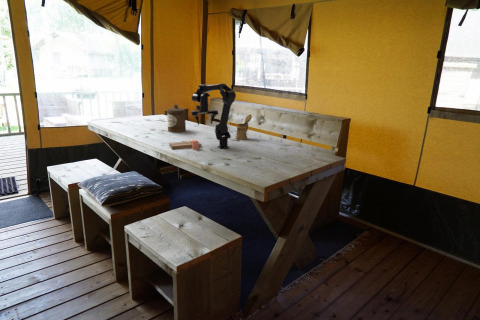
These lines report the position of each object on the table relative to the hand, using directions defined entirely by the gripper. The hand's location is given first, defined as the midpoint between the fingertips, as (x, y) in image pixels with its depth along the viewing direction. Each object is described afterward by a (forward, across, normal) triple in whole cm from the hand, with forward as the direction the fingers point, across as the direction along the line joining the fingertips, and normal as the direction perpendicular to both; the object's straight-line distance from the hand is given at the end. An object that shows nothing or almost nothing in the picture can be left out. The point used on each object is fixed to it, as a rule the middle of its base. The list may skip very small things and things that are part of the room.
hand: (204, 124), depth 239 cm
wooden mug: (+14, -32, -6) cm, 35 cm away
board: (+13, +16, +6) cm, 21 cm away
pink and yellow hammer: (+13, +11, +10) cm, 20 cm away
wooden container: (+12, +13, -48) cm, 52 cm away
